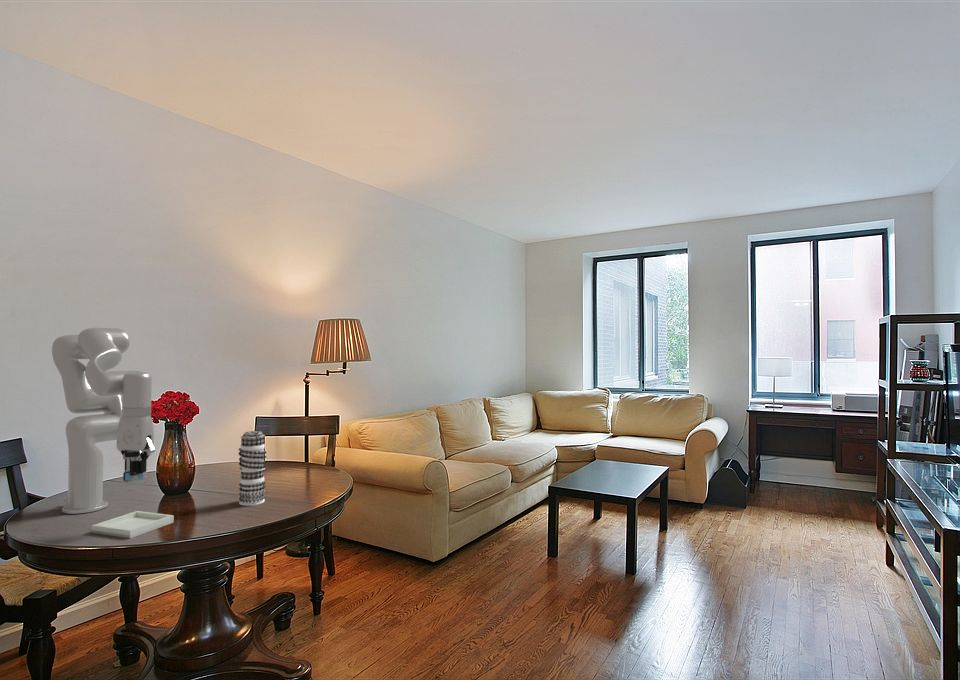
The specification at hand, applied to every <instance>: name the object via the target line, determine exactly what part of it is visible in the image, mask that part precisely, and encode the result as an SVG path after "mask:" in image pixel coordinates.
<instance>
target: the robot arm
mask: <svg viewBox="0 0 960 680" xmlns="http://www.w3.org/2000/svg"><path fill="white" fill-rule="evenodd" d="M130 342H131V339H130V337H129V334H128V333H127V332H126V331H125V330H124V329H122V328H118V327H117V328H116V327H115V328H113V327H109V328H108V327H89V328H85V329H83V330H81V332H79V334H68V335H61V336H58V337H56V338H55V339H54V341H53V343H52V345H51V355H52V361H53V363H54V365H55V367H56V369H57V371H58V372H59V375H60V377H61V381H62V386H63V392H64V398H65V403H66V407H67V409H68V411H69V412H71V413H73V414H89V415H80V416H76V417H73V418H72V419H69V420H68V422H66V425H65V436H66V443H67V448H68V489H67V493H68V494H67V495H66V496H64V497H62V502H66V505H65V506H63V507H62V510H61V511H62V513H64V514H69V515H75V514H77V515H78V514H86V513H92V512H96V511H100V510H104V509H105V508H106V507H108V505H109V502H108V501H107V500H104V496H103V492H104V491H103V490H104V488H103V487H104V455H103V453H102V450H100V449H99V448H98V447H97V445H96V444H97V443H103V442H110V441H116V448H117V449H116V450H118V451H119V452H120V454H121V455H122V456H123V457H122V459H123V461H124V472H126V470H127V457H125V456H124V453H123V451H137V452H139V453H138V457H137V458H138V461H136V474H141V473H147V460H149V457H150V456H151V455H152V454H153V453H155V451H156V449H155V446H154V440H155V438H154V437H155V436H154V432H155V431H154V423H153V418H152V384H153V383H152V375H151V374H150V373H148V372H142V371H140V370H139V371H138V370H111V369H113V368H116V366H118V365H119V364H120V363H121V361H122V357H123V355H122V354H123V353H125V352H126V351H127V350H128V349H129V347H130ZM79 360H88V362H87V364H86V365H85V364H84V363H82V362H81V361H79ZM109 370H111V371H109ZM90 413H92V414H90ZM93 413H102V414H93ZM142 449H143V450H142ZM142 452H143V454H142Z"/></svg>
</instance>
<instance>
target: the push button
mask: <svg viewBox="0 0 960 680" xmlns="http://www.w3.org/2000/svg"><path fill="white" fill-rule="evenodd" d="M142 450H143V449H142ZM123 453H124V456H125V457H127V470H126V472H125V471H123V474H122V475H123V478H122V480H123V481H124V482H126V483H128V482H135V481H141V480H144V478H147V477H148V475H147V474H149V473H148V472H145V473H141V474H136V461H138V458H137V457H138V453H139V452H137V451H123ZM142 454H143V452H142ZM144 475H145V476H144Z"/></svg>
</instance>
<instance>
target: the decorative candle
mask: <svg viewBox="0 0 960 680" xmlns="http://www.w3.org/2000/svg"><path fill="white" fill-rule="evenodd" d="M265 437H266V435H265V434H263V432H262V431H260V430H250V431H245V432H244V433H243V435H241V436H240V439H241V441H240V442H241V444H240V447H239V448H238V450H239V452H238V456H239V458H238V460H239V462H238V465H239V466H240V467H239V471H240V479H239V481H240V483H239V489H238V490H239V491H240V492H239V493H238V496H239V497H238V500H239V502H238V503H239V504H238V505H241V506H246V507H247V506H249V507H250V506H257V505H261V504H263V503H264V502H265V501H266V499H265V498H266V495H265V493H266V491H265V488H266V486H265V484H266V481H265V475H264V473H265V472H264V470H266V465H265V464H266V463H267V461H265V459H266V458H267V456H266V454H267V451H265V447H266V446H265V445H266V444H265Z"/></svg>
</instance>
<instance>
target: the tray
mask: <svg viewBox="0 0 960 680" xmlns="http://www.w3.org/2000/svg"><path fill="white" fill-rule="evenodd" d="M174 518H175V516H174V515H173V514H167V513H166V514H164V513H158V512H157V513H156V512H149V511H141V510H134V511H133V512H129V513H126V514H123V515H121V516H117V517H113V518H110V519H108V520H104V521H101V522H98V523H95V524H92V525H91V534H98V535H105V536H111V537H118V538H125V539H133V538H135V537H138V536H140V535H143V534H146V533H149V532H151V531H155V530H156V529H159V528H162V527H165V526H167V525H171V524H173V523H174V521H175V519H174Z"/></svg>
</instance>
